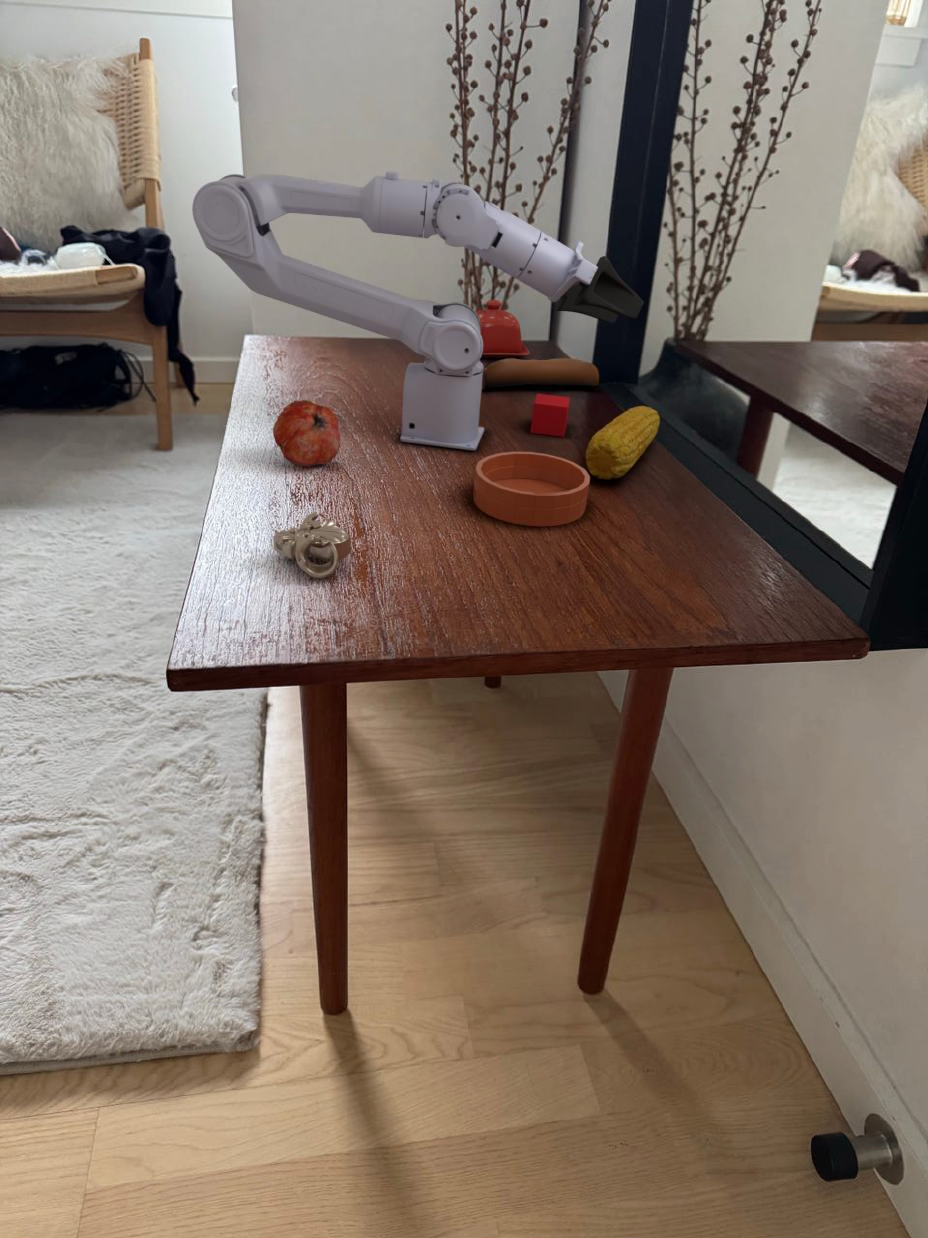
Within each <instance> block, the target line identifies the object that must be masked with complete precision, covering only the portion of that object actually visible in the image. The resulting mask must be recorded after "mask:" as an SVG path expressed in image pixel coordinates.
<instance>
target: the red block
mask: <svg viewBox="0 0 928 1238" xmlns="http://www.w3.org/2000/svg"><path fill="white" fill-rule="evenodd" d="M570 401H571V397H569V396H561V395H553V394H544V393H536V396H535V399H534V402H533V407H532V415H531V425H530V433H531V434H535V435H536V434H538V435H545V436H552V437H553V436H554V437H562V438H564V437H565V433H566V429H567V422H568V418H569V417H568V416H569V409H570V408H569V407H570Z"/></svg>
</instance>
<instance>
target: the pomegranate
mask: <svg viewBox="0 0 928 1238" xmlns="http://www.w3.org/2000/svg"><path fill="white" fill-rule="evenodd" d="M272 429H273V430H272V435H273V438H274V442H275V444H276V446H278V448H279V449H280V451H281V454H282V456H283V457H284V459H285V460H286V461H288V462H290V463H291V464H294V465H296V466H300V467H302V468H303V467H310V466H314V465H324V464H328V463H331V461H332V460H333V459H334V458H335V457H336V456H337V455H338V453H339V451H340V448H341V433H340V432H339V422H338V419H337V417H336V414H335V412H334V411H333V410H332V409H331V408H330V407H327V406H323V405H319V404H316V403H314V402H313V401H311V400H308V399H302V400H293V402H291V403H288V404H287V405H286V406H284V408H283V409H282V411H281V412H280V413H279V415H278V416H277V419H276V420H275V422H274V424H273V428H272Z"/></svg>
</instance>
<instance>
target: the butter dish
mask: <svg viewBox="0 0 928 1238" xmlns="http://www.w3.org/2000/svg"><path fill="white" fill-rule="evenodd" d="M485 305H486V309H479V310H476V311H475V310H474V311H475V312H476V314H477V315H478V317H479V319H480V323H481V336H482V339H483V352H482V355H481V358H480V359H482V358H483V359H511V358H512V359H516V358H517V357H527V356H529V355H530V354H531V353H530V350H529V349H528V348H527V347H526V345H525V344H524V343H523V341H522V333H521V331H522V330H521V325H520V322H519V320H518V319H517V317H516V316H515V315H514V314H512V313H510V312H509V311H506V310H502V309H500V308H501V307H502V302H501V301H500V300H497V299H490V300H487V301H486V302H485Z"/></svg>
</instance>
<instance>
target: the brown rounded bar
mask: <svg viewBox="0 0 928 1238" xmlns="http://www.w3.org/2000/svg"><path fill="white" fill-rule="evenodd" d="M599 384H600V373H599V369H598V367H597V366H596V365H595V364H593V362H588V361H584V360H580V359H575V358H565V357H564V358H560V357H558V358H549V359H541V360H540V359H539V360H538V359H518V358H503V359H499V360H497V361H494V362H491V363H490V364H488V366H487V367H483V378H482V390H481V391H483V390H485V389H486V388H503V387H514V386H525V385H532V386H533V385H534V386H536V385H537V386H538V385H540V386H551V385H558V386H589V387H591V388H593V389H594V390H598V388H599Z"/></svg>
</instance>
